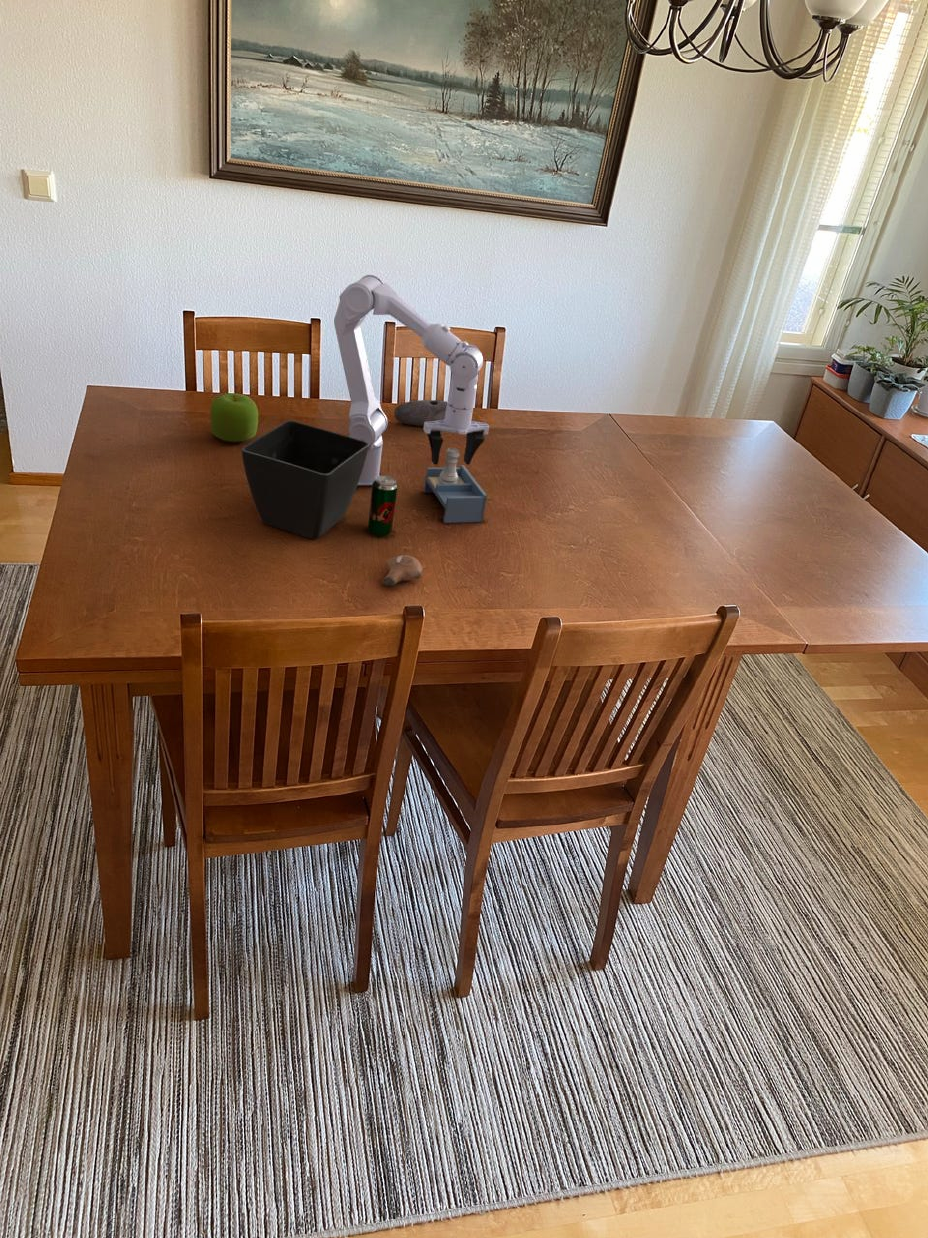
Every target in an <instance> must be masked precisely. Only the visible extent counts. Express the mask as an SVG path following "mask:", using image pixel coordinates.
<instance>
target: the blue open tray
mask: <svg viewBox="0 0 928 1238" xmlns="http://www.w3.org/2000/svg"><path fill="white" fill-rule="evenodd" d="M443 469H444V467H426V472H425V477H424V483H423V484H424V485H423V493H425V494H433V493H434V495H435V496H436V498H437V499H438V501H439V502H440V504H441V505H442V506H443V508H444V514H443V520H442V522H443V523H444V524H449V523H450V524H454V523H482V522H483V519H484V515H485V509H486V504H487V499H488V495H487V493H486V492H485V491H484V489H483V488H482V487H481V486H480V484H479V483H478V482H477V480H476V479H475V478H474V477H473V475H472V474H471V472H470V471H469V470H468V469H467V467H466V466H465V465H464V464H463V465H460V467H457V466H456V472H457V475H458V480H457V481H458V483H457V484H441V483H440V481H439V478H440V473H441V472H442V470H443Z"/></svg>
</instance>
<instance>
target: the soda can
mask: <svg viewBox="0 0 928 1238" xmlns="http://www.w3.org/2000/svg"><path fill="white" fill-rule="evenodd" d="M397 493H398V484H397V480H396V478H394V477H393V476H390V475H380V476H377V477H376V478H375V481H374V482H373V484H372V485H371V492H370V494H371V495H370V503H369V511H368V519H367V520H368V522H367V531H368V532H369V534H371V535H372V536H373V537H377V538H378V537H379V538H386V537H387V536H390V535H391V534H392V532H393V525H394V524H393V523H394V517H395V509H396V501H397V495H398V494H397Z"/></svg>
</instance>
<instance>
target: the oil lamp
mask: <svg viewBox="0 0 928 1238" xmlns="http://www.w3.org/2000/svg"><path fill="white" fill-rule="evenodd" d="M385 565H386V567H387V570H388V574H387V575H386V576H385V577H383V578H382V579H381V583H382V585H383V586H385V587H386V586H387V587H388V586H389V587H395V585H396V584H398V583H401V582H406V581H412V580H416V579H417V580H418V579H421V578H422V576H423V575H422V574H423V573H422V570H423V568H422V564H421V562H420V561H419V560H418V559H417V558H415V557H414V556H411V555H407V554H401V555H397V556H394V557H392V558H388V559H387V560H386V561H385Z"/></svg>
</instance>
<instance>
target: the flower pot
mask: <svg viewBox="0 0 928 1238" xmlns="http://www.w3.org/2000/svg"><path fill="white" fill-rule="evenodd" d="M368 447H369V443H367V442H365V441H361V440H358V439H355V438H351V437H349V435H348V436H347V435H344V434H341V433H337V432H334V431H330V430H328V429H327V430H326V429H323V428H320V427H316V426H312V425H309V424H306V423H302V422H299V421H296V420H286V421H284V422H282V423H280V424H279V425H278V426H276V427H274V428H273V429H271V430H270V431H268V432H266V433H265V434H263V435H261V436H259V437H257V438H255V439H254V440H252V441H251V442H249V443H247V444H246V445H244V446H242V447H241V457H242V463H243V468H244V472H245V477H246V480H247V484H248V487H249V492H250V494H251V496H252V499H253V502H254V505H255V507H256V510H257V512H258V515H259V517H260V520H261V521H262V523H263V524H265V525H268V526H269V527H270V526H271V527H274V528H276V529H279V530H283V531H286V532H290V533H292V534H295V535H298V536H301V537H305V538H307V539H311V540H319V538H321V537H322V536H323V535H324V534H325V533H326V532H328V531H329V530H330V529H331V528H333V527H334V526H335V525H336V524H337V523H339V522H340V520H342V519H343V518H344V517H345V515H346V513H347V511H348V509H349V507H350V504H351V502H352V500H353V497H354V495H355V493H356V490H357V487H358V486H359V485H358V482H359V479H360V476H361V473H362V470H363V467H364V463H365V459H366V456H367V452H368Z"/></svg>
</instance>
